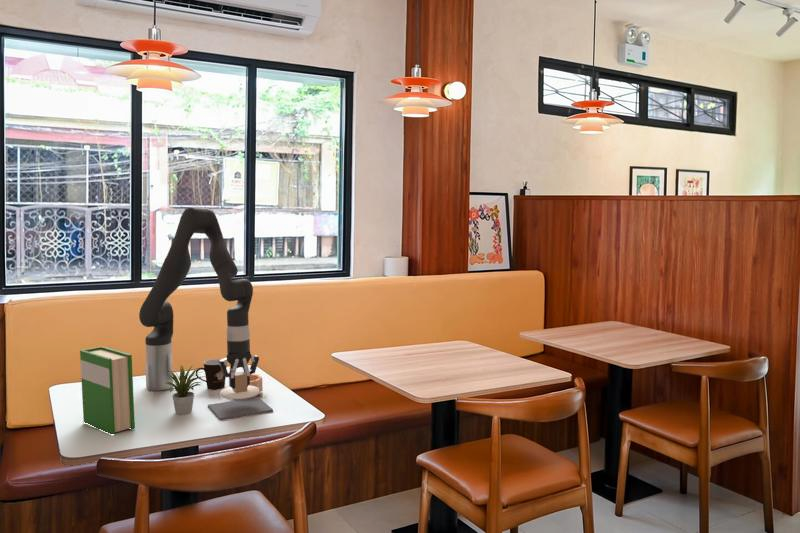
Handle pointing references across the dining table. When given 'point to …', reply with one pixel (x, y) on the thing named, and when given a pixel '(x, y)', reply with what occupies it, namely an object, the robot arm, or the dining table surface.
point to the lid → (240, 388)
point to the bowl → (256, 382)
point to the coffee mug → (213, 374)
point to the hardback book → (107, 389)
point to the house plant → (183, 391)
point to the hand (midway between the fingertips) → (239, 387)
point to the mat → (239, 408)
